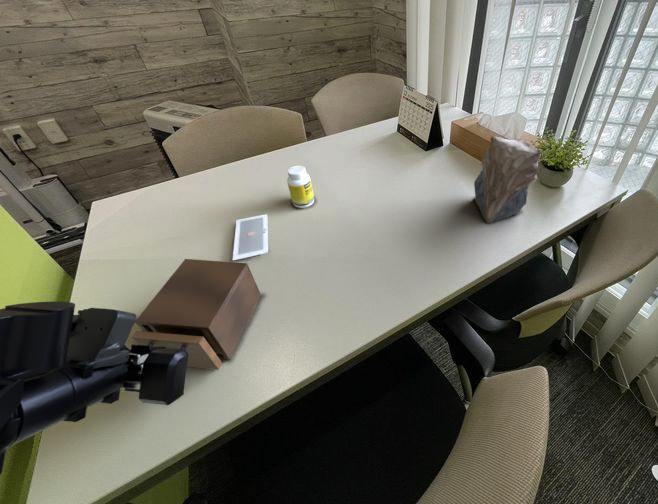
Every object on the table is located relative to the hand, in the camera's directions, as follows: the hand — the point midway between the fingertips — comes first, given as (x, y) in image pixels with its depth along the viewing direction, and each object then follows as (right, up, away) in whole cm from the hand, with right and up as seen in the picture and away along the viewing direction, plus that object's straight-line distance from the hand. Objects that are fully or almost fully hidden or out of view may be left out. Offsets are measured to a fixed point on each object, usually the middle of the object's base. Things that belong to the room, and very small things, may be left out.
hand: (163, 349), depth 51 cm
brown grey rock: (+64, +21, +41) cm, 79 cm away
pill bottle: (+9, +23, +44) cm, 50 cm away
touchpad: (-1, +14, +32) cm, 35 cm away
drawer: (0, -3, +9) cm, 9 cm away
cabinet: (+1, -1, +13) cm, 13 cm away
